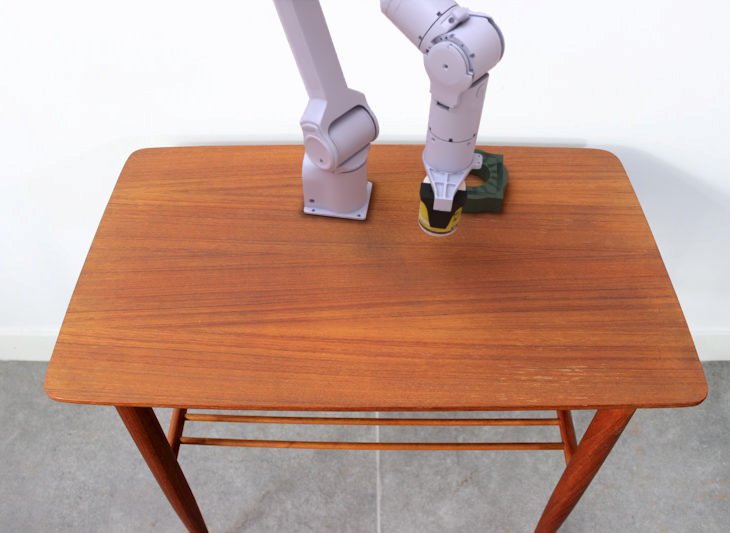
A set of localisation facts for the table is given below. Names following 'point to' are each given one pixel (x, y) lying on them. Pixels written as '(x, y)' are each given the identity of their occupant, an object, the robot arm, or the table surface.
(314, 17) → the robot arm
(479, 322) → the table surface
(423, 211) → the supplement bottle
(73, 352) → the table surface
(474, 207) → the holder
